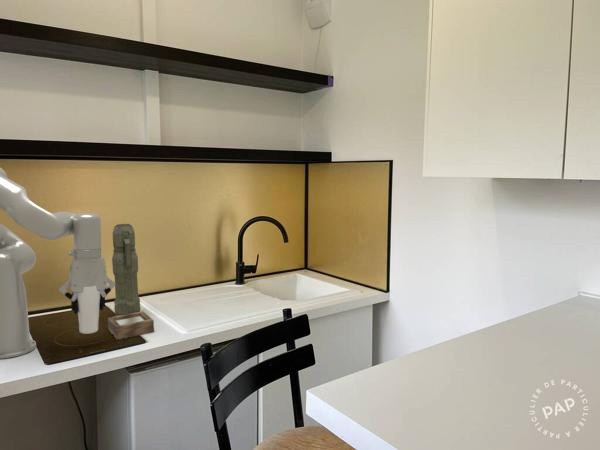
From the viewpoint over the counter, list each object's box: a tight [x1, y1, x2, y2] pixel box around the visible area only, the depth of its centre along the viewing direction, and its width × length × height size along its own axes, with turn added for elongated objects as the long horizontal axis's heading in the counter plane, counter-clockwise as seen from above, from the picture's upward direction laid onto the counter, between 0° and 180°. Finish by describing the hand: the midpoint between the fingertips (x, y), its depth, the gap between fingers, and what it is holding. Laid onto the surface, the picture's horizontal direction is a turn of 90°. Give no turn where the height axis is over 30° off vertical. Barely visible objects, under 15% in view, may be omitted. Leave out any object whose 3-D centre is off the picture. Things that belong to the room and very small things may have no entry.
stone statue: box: [111, 223, 141, 316], centre depth 163 cm, size 9×12×35 cm
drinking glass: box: [76, 286, 100, 335], centre depth 137 cm, size 7×7×15 cm
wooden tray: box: [107, 310, 155, 341], centre depth 151 cm, size 12×12×4 cm
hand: (88, 310), depth 137 cm, fingers closed on drinking glass, 6 cm apart
